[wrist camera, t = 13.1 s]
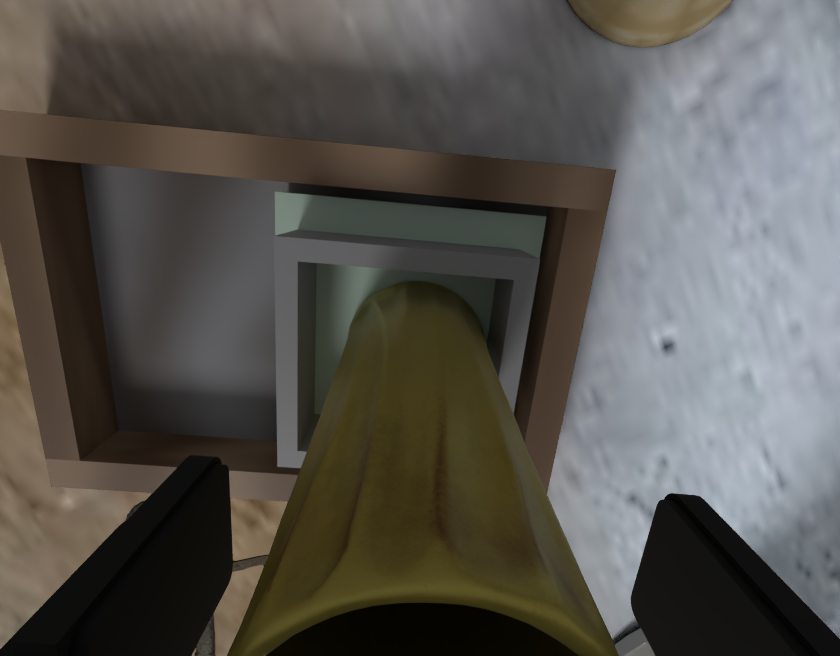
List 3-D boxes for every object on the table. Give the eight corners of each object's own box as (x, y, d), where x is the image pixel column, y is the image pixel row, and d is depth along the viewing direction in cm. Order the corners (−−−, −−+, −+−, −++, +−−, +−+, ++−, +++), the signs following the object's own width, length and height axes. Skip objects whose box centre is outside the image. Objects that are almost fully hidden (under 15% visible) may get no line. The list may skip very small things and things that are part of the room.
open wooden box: (584, 174, 18) (615, 169, 15) (525, 477, 23) (541, 517, 20) (45, 122, 17) (-28, 107, 15) (98, 449, 22) (51, 486, 19)
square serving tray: (538, 215, 18) (573, 220, 14) (498, 452, 22) (518, 510, 18) (283, 191, 18) (245, 190, 14) (285, 438, 21) (256, 494, 17)
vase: (359, 415, 20) (235, 911, 6) (336, 288, 18) (82, 584, 4) (488, 401, 19) (662, 874, 6) (478, 271, 18) (700, 520, 4)
